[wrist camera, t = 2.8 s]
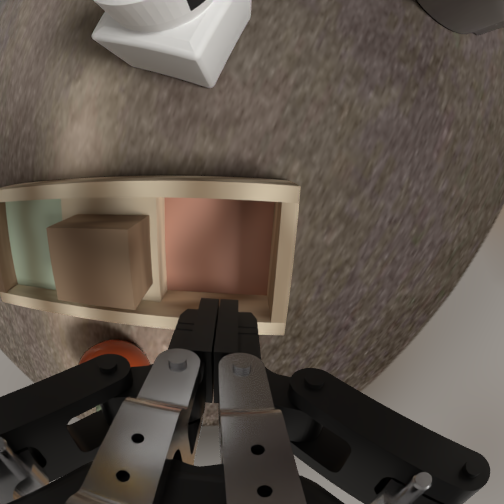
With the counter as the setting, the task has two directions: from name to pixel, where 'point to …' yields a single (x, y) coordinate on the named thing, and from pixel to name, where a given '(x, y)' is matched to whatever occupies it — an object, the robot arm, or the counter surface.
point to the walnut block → (101, 259)
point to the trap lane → (162, 243)
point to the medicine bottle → (173, 35)
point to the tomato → (119, 348)
